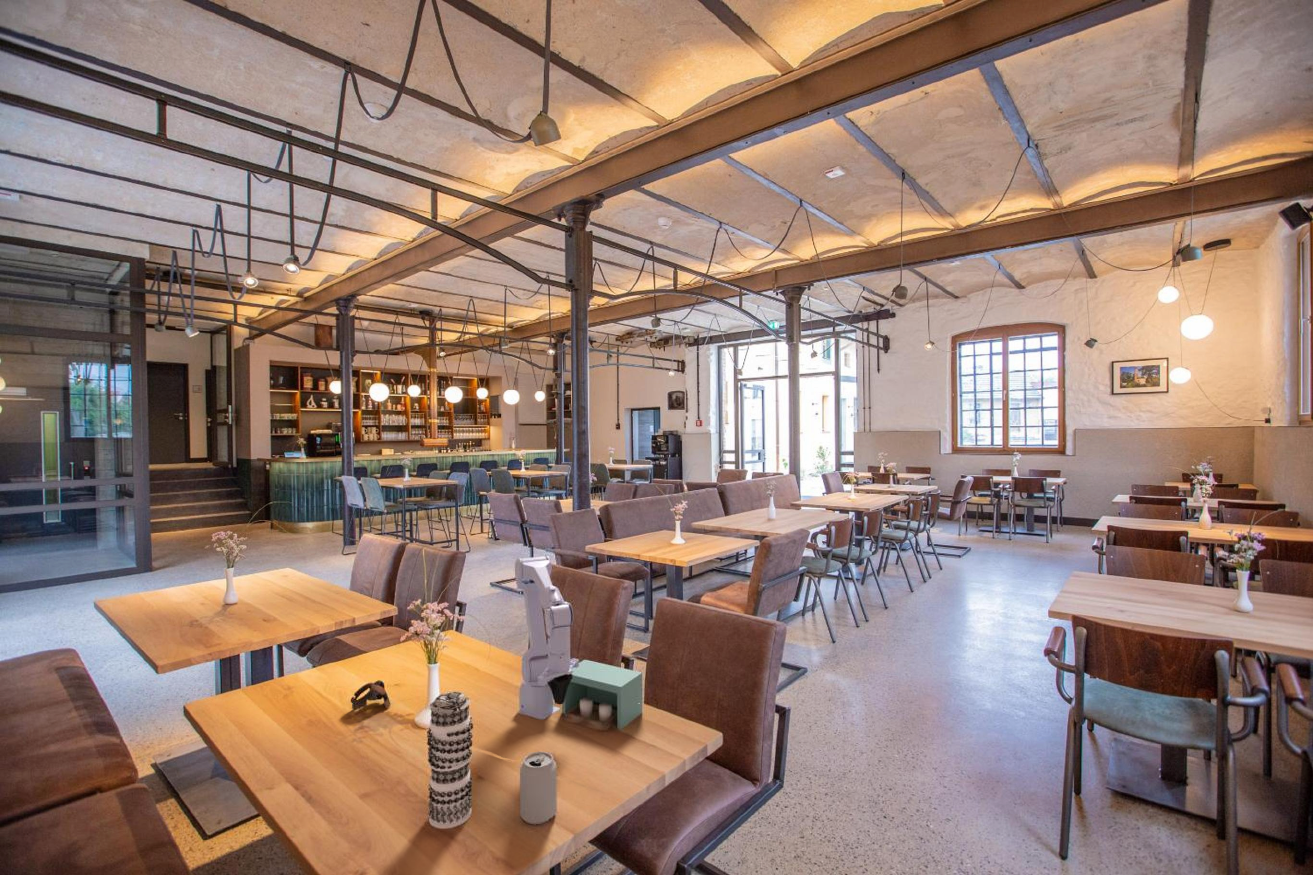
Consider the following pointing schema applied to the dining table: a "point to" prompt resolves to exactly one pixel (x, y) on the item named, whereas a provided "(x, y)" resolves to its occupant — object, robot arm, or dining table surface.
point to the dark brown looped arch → (370, 695)
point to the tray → (590, 718)
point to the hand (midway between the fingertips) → (559, 702)
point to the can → (538, 788)
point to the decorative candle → (450, 760)
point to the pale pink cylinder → (605, 712)
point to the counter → (606, 689)
